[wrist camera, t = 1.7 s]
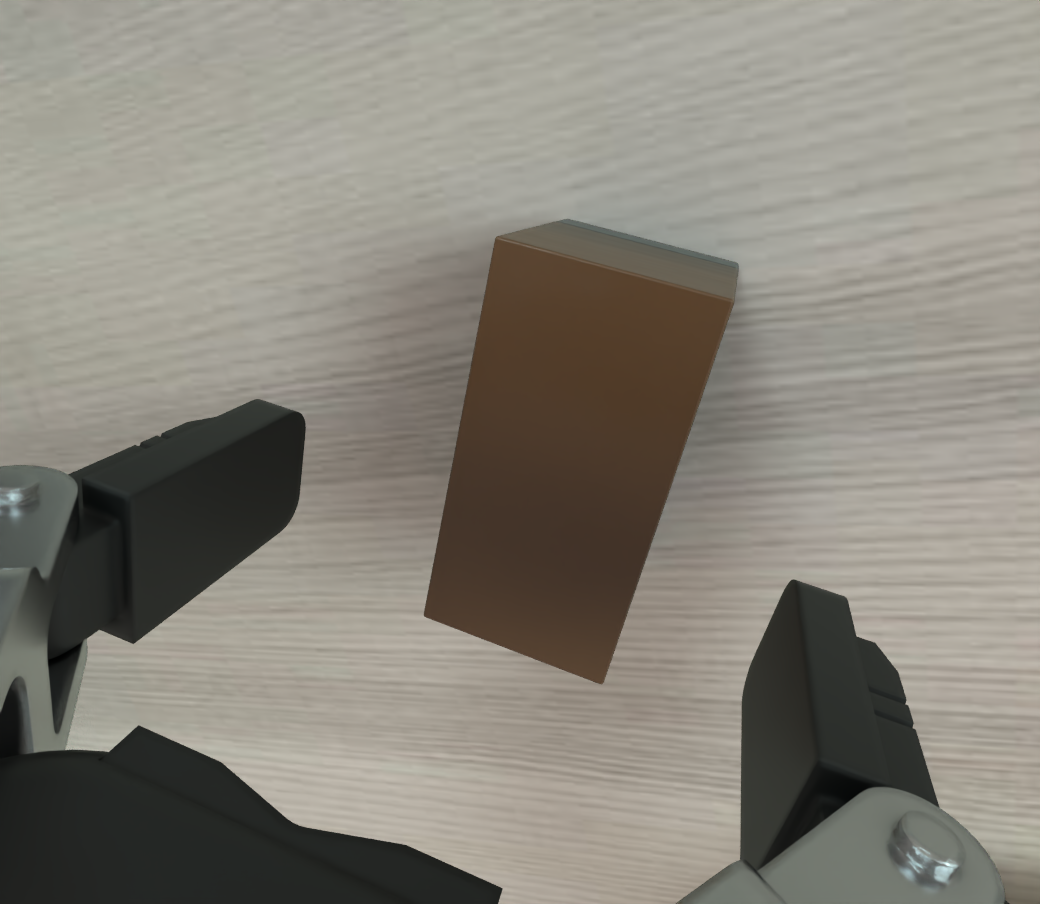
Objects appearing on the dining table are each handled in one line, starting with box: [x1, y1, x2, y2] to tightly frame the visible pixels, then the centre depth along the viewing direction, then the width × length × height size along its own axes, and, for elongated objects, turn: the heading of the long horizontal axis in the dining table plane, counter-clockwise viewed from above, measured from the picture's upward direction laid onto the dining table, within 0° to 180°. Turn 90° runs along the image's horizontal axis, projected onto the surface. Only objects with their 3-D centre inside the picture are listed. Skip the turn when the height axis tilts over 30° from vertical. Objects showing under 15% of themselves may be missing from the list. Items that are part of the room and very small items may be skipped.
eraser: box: [424, 219, 739, 684], centre depth 15 cm, size 8×4×5 cm, turn 167°
